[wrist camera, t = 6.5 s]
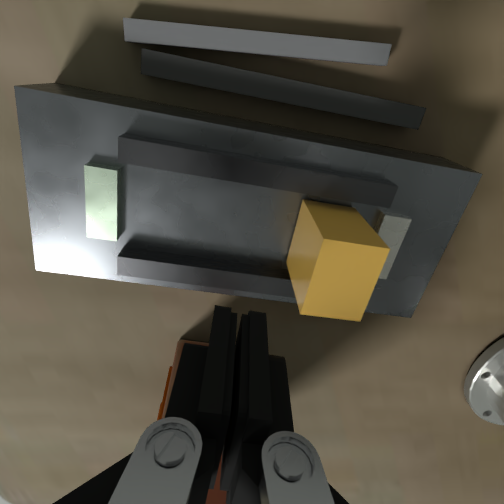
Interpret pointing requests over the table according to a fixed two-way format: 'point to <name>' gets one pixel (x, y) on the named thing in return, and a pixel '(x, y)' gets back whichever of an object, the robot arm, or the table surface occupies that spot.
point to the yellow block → (334, 261)
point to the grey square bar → (255, 42)
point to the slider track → (218, 196)
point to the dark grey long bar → (279, 89)
